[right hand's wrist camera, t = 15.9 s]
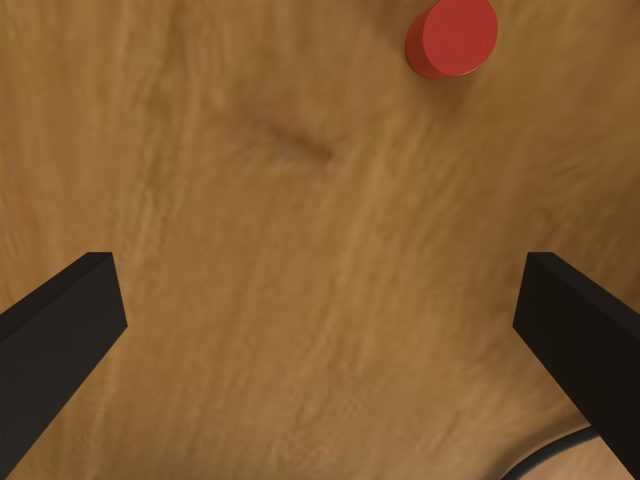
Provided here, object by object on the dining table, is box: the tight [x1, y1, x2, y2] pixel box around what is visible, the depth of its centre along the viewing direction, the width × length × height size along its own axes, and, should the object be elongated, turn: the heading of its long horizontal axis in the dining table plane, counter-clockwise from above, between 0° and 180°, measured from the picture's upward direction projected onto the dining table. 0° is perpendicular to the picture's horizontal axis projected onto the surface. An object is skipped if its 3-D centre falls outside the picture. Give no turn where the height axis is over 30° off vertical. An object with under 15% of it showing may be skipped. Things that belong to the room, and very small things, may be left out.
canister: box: [405, 0, 498, 79], centre depth 22 cm, size 4×4×4 cm
